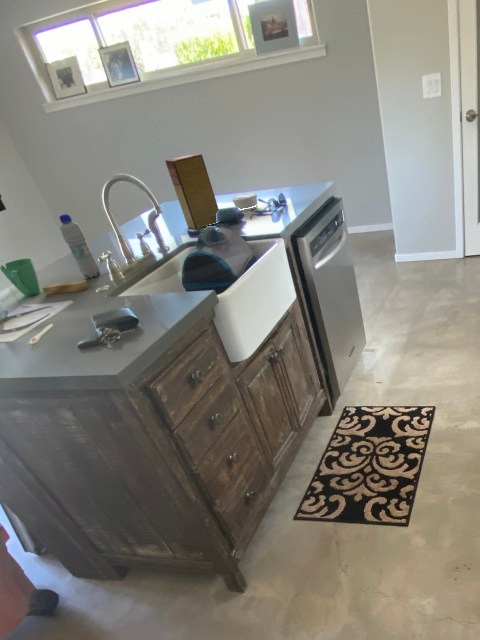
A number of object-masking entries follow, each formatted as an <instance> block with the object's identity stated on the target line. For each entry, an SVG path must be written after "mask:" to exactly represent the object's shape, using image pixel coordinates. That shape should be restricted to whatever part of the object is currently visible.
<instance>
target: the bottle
mask: <svg viewBox="0 0 480 640" xmlns="http://www.w3.org/2000/svg"><path fill="white" fill-rule="evenodd" d="M59 221H60V223H61V225H60V227H59V230H60V232H61V235H62V238H63V240H64V242H65V243H66V244H67V246H68V247H69V250H70V251H71V253H72V255H73V258H74V260H75V261H76V264H77V266H78V269H79V271H80V272H81V274H82V276H83V277H84V278H85V279H93V276H94V277H95V278H98V276H101V268H100V267H99V264H98V262H97V261H96V258H95V256H94V255H93V252H92V251H91V249H90V247H89V244H88V242H87V240H86V236H85V233H84V231H83V230H82V228H81V226H80V225H79V223H78V222H74V221H73V219H72V217H71V216H70V215H69V214H67V213H65V214H61V215H60V216H59Z"/></svg>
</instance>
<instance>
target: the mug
mask: <svg viewBox="0 0 480 640" xmlns="http://www.w3.org/2000/svg"><path fill="white" fill-rule="evenodd" d="M0 271H1V272H2V273H3V275H4V276H5V278H7V279H8V281H9V282H10V283H11V284H12V285H13V286H14V287H15V288H16V289H17V290H18V292H20V293H21V294H22V295H23V296H25V297H32V296H36V295H38V294H40V293H41V289H40V282H39V279H38V275H37V271H36V269H35V266H34V263H33V261H32V259H31V258H21V259H16V260H12V261H8V262H6V263H5V266H4V265H3V264H2V265H0Z"/></svg>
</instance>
